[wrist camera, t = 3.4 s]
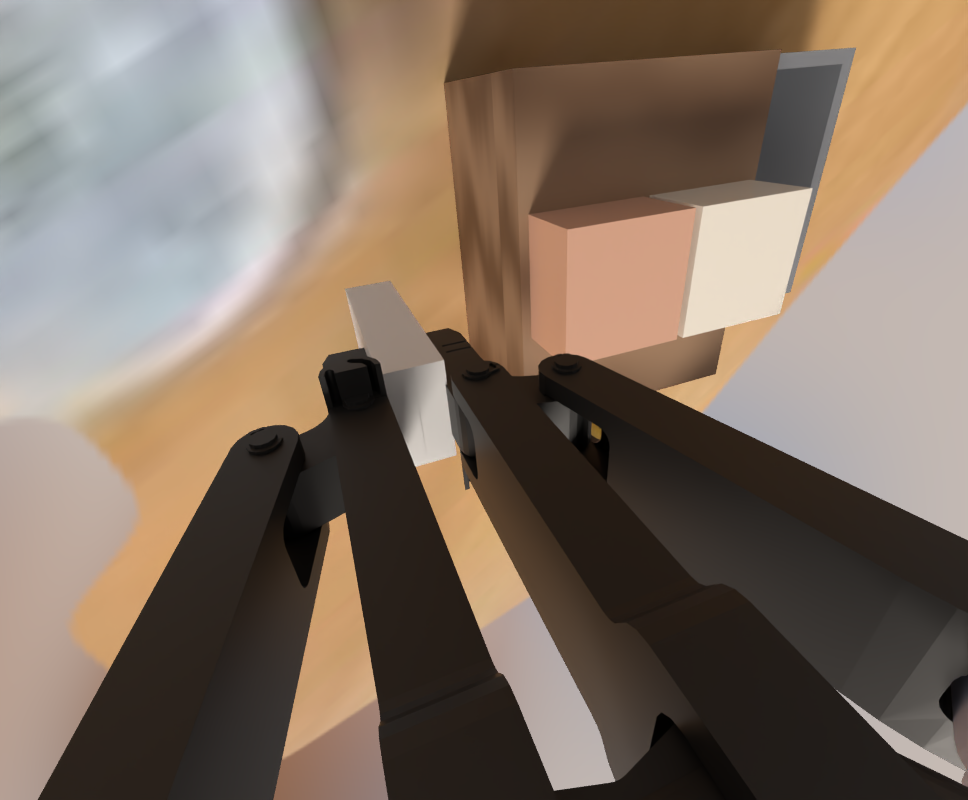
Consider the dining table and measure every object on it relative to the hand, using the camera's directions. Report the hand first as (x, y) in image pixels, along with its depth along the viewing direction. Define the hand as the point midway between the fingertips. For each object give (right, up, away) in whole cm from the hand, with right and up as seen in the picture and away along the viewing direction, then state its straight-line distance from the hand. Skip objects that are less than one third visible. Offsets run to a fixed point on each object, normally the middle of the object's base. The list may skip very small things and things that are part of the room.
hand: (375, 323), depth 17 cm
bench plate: (+8, +7, +10) cm, 15 cm away
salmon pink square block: (+8, +3, +3) cm, 9 cm away
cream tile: (+13, +4, +5) cm, 14 cm away
